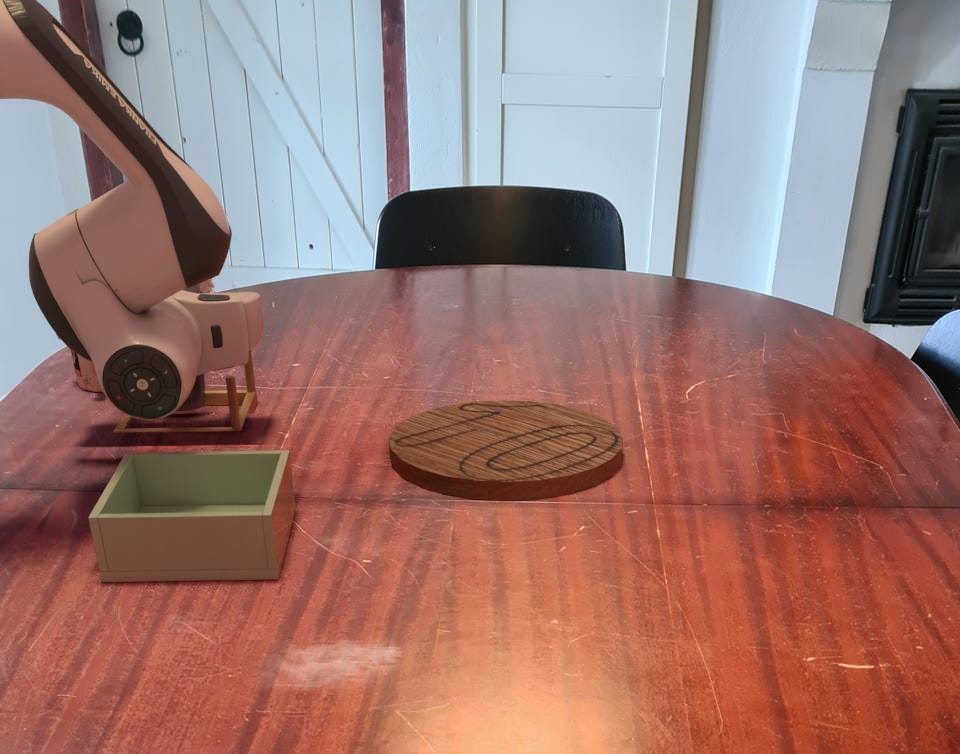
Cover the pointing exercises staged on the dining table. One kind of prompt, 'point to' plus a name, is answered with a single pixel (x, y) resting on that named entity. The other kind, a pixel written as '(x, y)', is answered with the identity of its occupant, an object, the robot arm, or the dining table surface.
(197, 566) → the open box
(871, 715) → the dining table surface
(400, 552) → the dining table surface
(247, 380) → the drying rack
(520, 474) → the trivet
